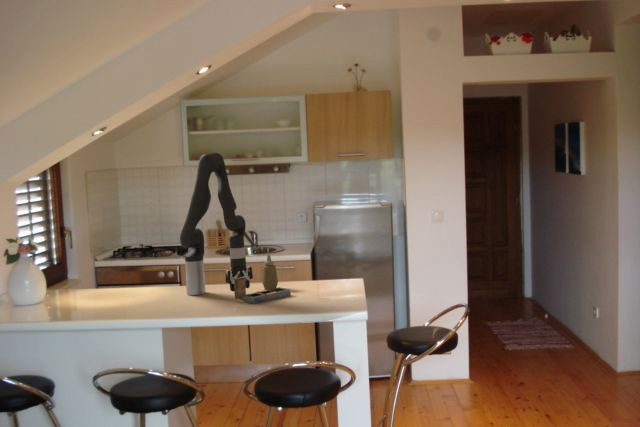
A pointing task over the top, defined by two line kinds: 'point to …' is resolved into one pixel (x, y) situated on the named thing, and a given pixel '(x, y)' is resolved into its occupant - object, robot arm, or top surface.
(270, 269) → the squeeze bottle
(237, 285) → the walnut peg
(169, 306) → the top surface
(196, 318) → the top surface
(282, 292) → the grey compartment tray
